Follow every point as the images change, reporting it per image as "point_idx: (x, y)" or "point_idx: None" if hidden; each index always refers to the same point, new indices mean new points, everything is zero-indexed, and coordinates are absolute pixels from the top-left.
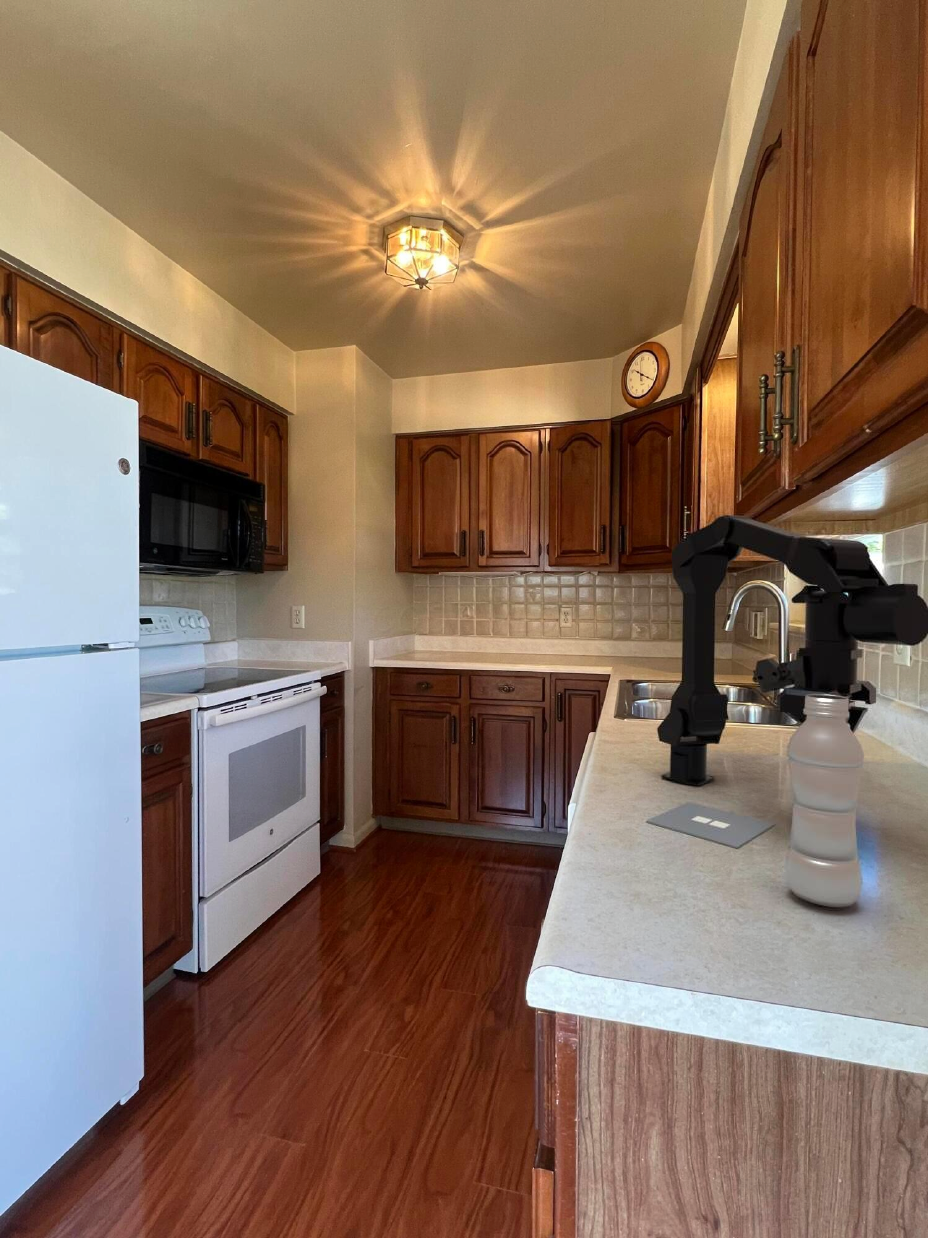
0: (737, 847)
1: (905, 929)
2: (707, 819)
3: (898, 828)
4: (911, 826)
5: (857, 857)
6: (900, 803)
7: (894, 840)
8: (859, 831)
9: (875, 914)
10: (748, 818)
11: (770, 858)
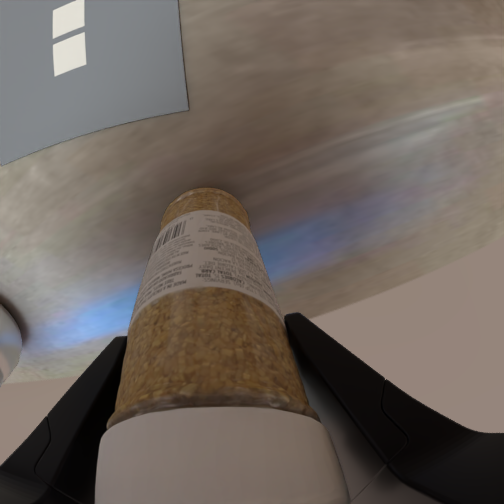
0: (1, 165)
1: (33, 374)
2: (78, 20)
3: (379, 270)
4: (402, 276)
5: (3, 381)
6: (493, 222)
7: (306, 293)
8: (311, 240)
9: (28, 355)
10: (168, 53)
11: (19, 219)
